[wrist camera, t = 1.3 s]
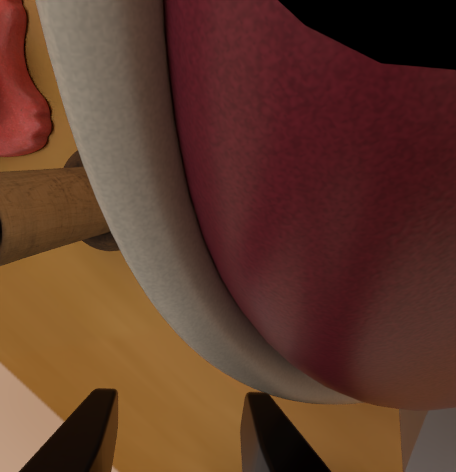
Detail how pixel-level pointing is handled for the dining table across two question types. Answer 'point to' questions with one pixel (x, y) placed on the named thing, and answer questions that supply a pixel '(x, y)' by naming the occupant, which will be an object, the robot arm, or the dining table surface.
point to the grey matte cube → (428, 440)
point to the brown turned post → (49, 211)
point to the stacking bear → (18, 89)
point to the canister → (279, 181)
